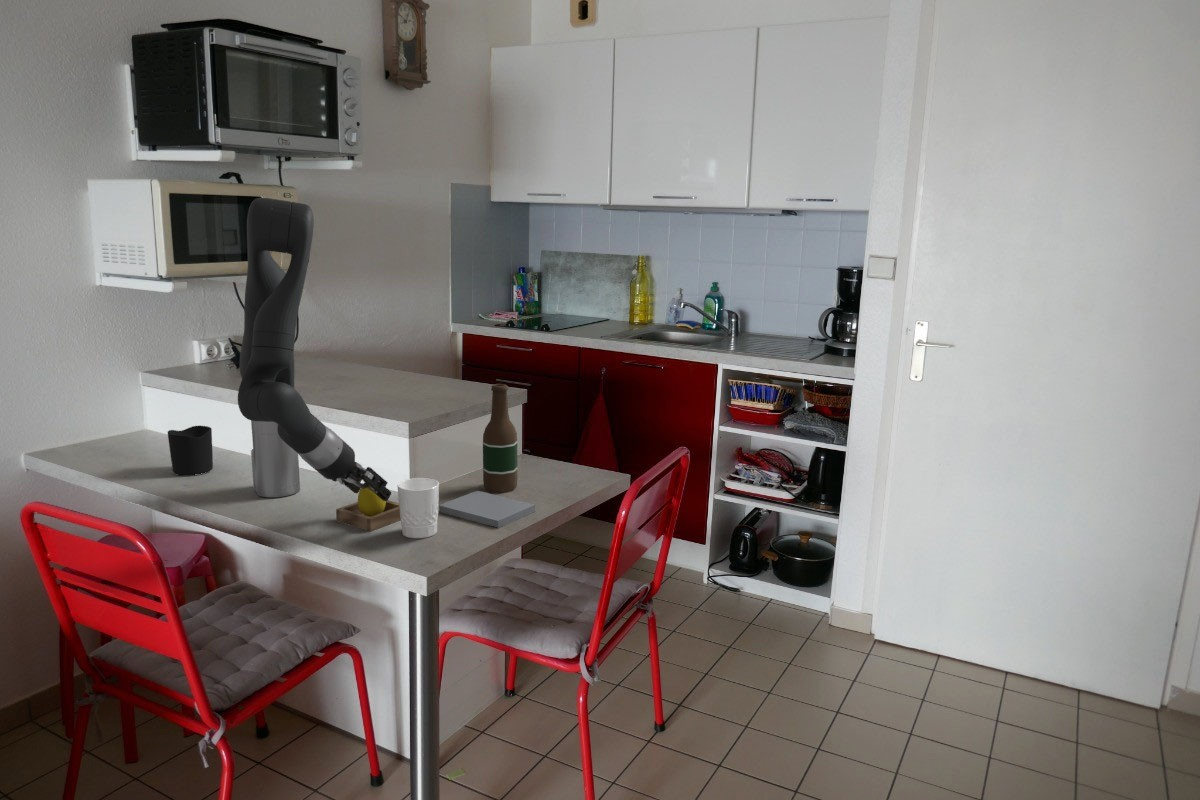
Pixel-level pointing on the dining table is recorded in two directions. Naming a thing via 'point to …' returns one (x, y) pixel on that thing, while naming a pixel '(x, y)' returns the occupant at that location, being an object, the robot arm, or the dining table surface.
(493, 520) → the gray board
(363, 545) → the dining table surface
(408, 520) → the white cup
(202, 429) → the pen holder
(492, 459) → the beer bottle
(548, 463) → the dining table surface
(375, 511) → the lemon
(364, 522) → the walnut collar
